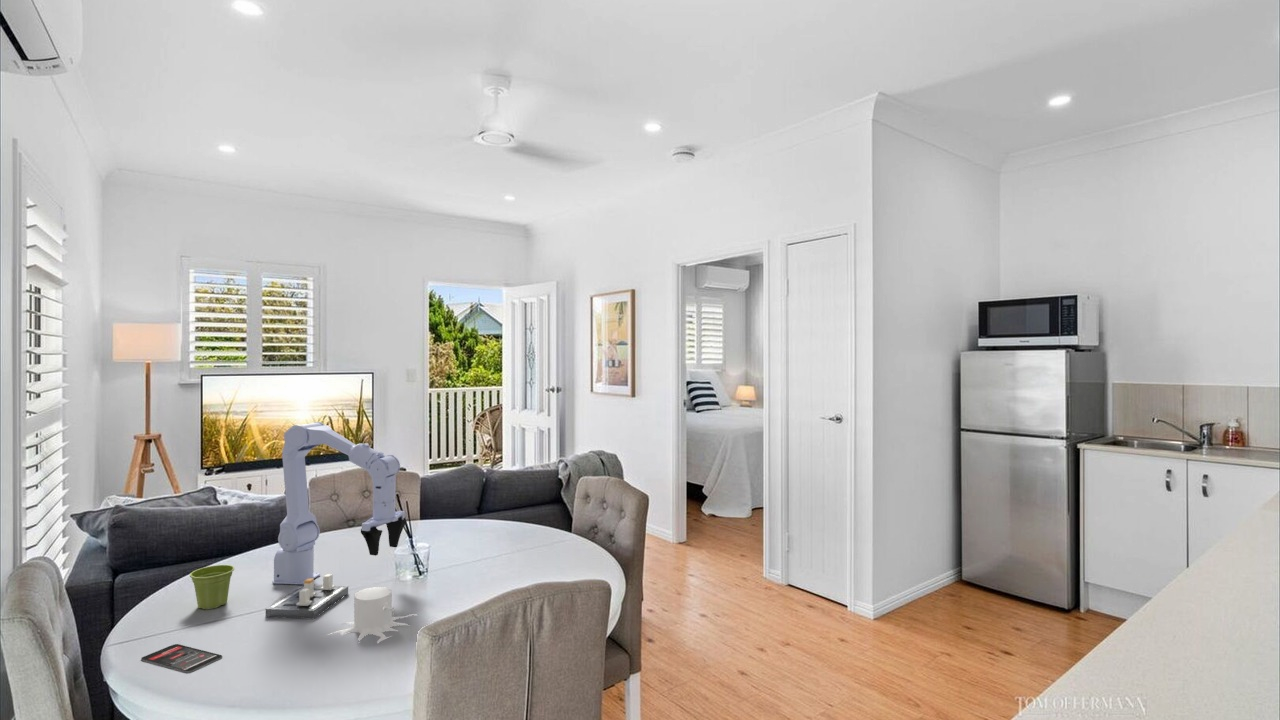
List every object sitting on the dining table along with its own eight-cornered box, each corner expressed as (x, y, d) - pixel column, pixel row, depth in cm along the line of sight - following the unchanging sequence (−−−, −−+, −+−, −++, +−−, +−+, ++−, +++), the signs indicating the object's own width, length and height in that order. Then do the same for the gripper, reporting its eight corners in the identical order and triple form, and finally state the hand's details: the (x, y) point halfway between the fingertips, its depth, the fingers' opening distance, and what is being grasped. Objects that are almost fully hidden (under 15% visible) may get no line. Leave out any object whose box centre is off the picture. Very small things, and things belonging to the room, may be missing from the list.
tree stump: (361, 654, 136) (361, 616, 136) (310, 632, 147) (310, 597, 146) (437, 621, 153) (437, 588, 153) (386, 604, 163) (386, 572, 163)
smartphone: (175, 643, 139) (224, 655, 133) (175, 646, 139) (224, 659, 133) (139, 658, 132) (188, 671, 127) (139, 661, 132) (188, 675, 127)
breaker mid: (300, 596, 160) (301, 581, 160) (306, 593, 162) (306, 578, 162) (311, 597, 160) (311, 581, 160) (316, 594, 162) (316, 578, 162)
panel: (265, 617, 154) (265, 608, 154) (304, 592, 170) (304, 584, 170) (313, 618, 153) (313, 610, 153) (348, 593, 169) (348, 586, 169)
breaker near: (296, 605, 155) (296, 591, 155) (301, 601, 157) (301, 588, 157) (307, 605, 155) (307, 591, 155) (312, 602, 157) (312, 588, 157)
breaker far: (320, 589, 165) (320, 576, 165) (324, 586, 168) (325, 573, 167) (330, 590, 165) (330, 576, 165) (335, 586, 167) (335, 574, 167)
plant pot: (186, 615, 154) (186, 579, 154) (192, 601, 163) (192, 567, 163) (232, 608, 159) (232, 573, 159) (236, 595, 167) (236, 562, 167)
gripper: (377, 508, 166) (376, 560, 166) (413, 496, 179) (413, 544, 179) (355, 505, 168) (355, 557, 168) (393, 494, 182) (392, 542, 182)
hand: (383, 550), depth 174 cm, fingers open, 7 cm apart
